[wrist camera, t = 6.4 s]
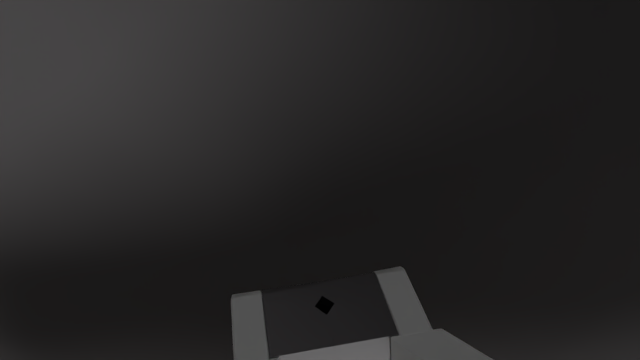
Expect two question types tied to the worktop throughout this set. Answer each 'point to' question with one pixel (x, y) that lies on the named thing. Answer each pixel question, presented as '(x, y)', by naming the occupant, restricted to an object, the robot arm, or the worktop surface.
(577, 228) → the worktop surface
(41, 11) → the worktop surface
